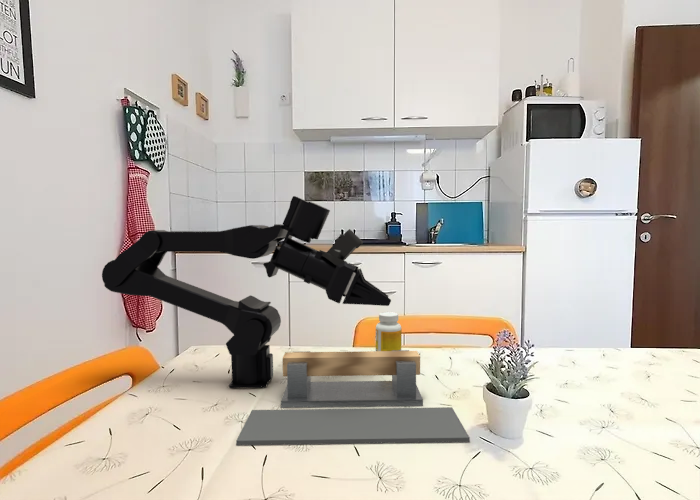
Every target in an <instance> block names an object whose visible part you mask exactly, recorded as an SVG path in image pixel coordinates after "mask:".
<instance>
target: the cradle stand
mask: <svg viewBox="0 0 700 500" xmlns="http://www.w3.org/2000/svg"><path fill="white" fill-rule="evenodd" d="M392 351H410V350H409V349H408V350H407V349H401V350H392ZM306 352H311V351H309V350H308V351H306ZM286 378H287V380H286V381H287V384H286V386H285V389H284V392H283V395H282V397H281V399H280V408H281V409H283V408H285V409H286V408H288V409H289V408H292V409H293V408H347V407H348V408H350V407H351V408H353V407H354V408H355V407H356V408H358V407H359V408H360V407H361V408H364V407H365V408H368V407H372V408H374V407H424V399H423V396H422V394H421V392H420V389H419V387H418V385H417V375H416V363H415V361H396V375H391V380H372V381H371V380H369V381H368V380H357V381H356V380H354V381H353V380H352V381H351V380H349V381H348V380H347V381H346V380H344V381H341V380H340V381H339V380H338V381H334V380H333V381H312V380H311V379H312V376H308V370H307V362H288V364H287V376H286Z"/></svg>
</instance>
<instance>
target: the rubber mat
mask: <svg viewBox="0 0 700 500" xmlns="http://www.w3.org/2000/svg"><path fill="white" fill-rule="evenodd" d="M470 442H471V437H470V436H469V434H468V432H467V431H466V429H465V427H464V425H463V424H462V422H461V421H460V418H459V417H458V415H457V413H456V412H455V410H454V409H453V407H446V406H445V407H438V406H437V407H379V408H378V407H376V408H374V407H372V408H368V407H365V408H364V407H361V408H308V409H307V408H303V409H302V408H299V409H293V408H292V409H289V408H288V409H286V408H285V409H252V410H251V411H250V412H249V415H248V417H247V419H246V421H245V422H244V425H243V427H242V429H241V431H240V432H239V435H238V437H237V439H236V442H235V443H236V444H235V445H236V446H269V445H270V446H273V445H274V446H276V445H280V446H283V445H286V446H287V445H289V446H290V445H293V446H295V445H334V444H335V445H347V444H348V445H349V444H350V445H354V444H356V445H357V444H415V443H416V444H417V443H418V444H421V443H422V444H423V443H424V444H429V443H431V444H432V443H470Z"/></svg>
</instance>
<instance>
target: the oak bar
mask: <svg viewBox="0 0 700 500" xmlns="http://www.w3.org/2000/svg"><path fill="white" fill-rule="evenodd" d="M396 361H415V363H416V376H419V375H421V355H420V353H419V352H418V350H409V351H376V350H374V351H372V350H371V351H363V350H362V351H310V352H307V351H292V352H289V351H287V352H284V354H283V356H282V377H287V364H288V362H307V370H308V376H311V377H337V376H338V377H343V376H345V377H346V376H351V377H352V376H356V377H357V376H392V375H396Z"/></svg>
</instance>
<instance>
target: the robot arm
mask: <svg viewBox="0 0 700 500" xmlns="http://www.w3.org/2000/svg"><path fill="white" fill-rule="evenodd" d="M330 212H331V210H330V209H328V208H326V207H324V206H322V205H320V204H317V203H315V202H312V201H307V200H305V199H303V198H300V197H298V196H295V195H294V196H292V198H291V199H290V203H289V208H288V210H287V213H286V215H285V217H284V219H283V222H282V224H279V223H277V224H276V223H275V224H274V225H272V226H269V225H265V224H250V225H245V226H239V227H233V228H229V229H226V230H220V231H219V230H218V231H215V230H214V231H213V230H212V231H211V230H209V231H206V230H205V231H198V230H197V231H194V230H193V231H191V230H190V231H189V230H187V231H185V230H184V231H183V230H182V231H180V230H179V231H175V230H174V231H173V230H172V231H167V230H165V229H157V230H155V229H154V230H147V231H146V232H144V234H142V235H141V236H140V238H138V240H137V241H136V242H134V243H133V244H132V245H130V246H129V247H128V248H126V249H125V250H124V251H122V252H121V253H120V254H119V255H118V256H116V258H115V259H114V260H113V259H112V260H110V261H108V262H107V263H106V264H105V265H104V267H103V269H102V272H101V277H102V282H103V286H104V287H105V289H107V290H109V292H113V293H117V294H123V295H128V296H140V297H150V298H151V297H152V298H154V299H157V300H159V301H162V302H165V303H167V304H170V305H173V306H175V307H178V308H181V309H183V310H185V311H188V312H192V313H193V314H196V315H198V316H202V317H205V318H207V319H210V320H212V321H215V322H217V323H220V324H223V326H224V327H226V329H228V330H229V332H231V333H232V335H233V336H232V337H230V338H229V340H228V341H227V342H226V343H225V345H226V348H227V351H228V353H229V355H230V356H231V358H230V359H231V362H230V363H231V381H230V383H229V385H228V388H230V389H239V388H240V389H244V388H246V389H247V388H248V389H249V388H250V389H251V388H259V389H261V388H266V387H267V386H268V384H269V383H270V381H271V380H272V378H273V376H274V354H273V353H270V352H271V351H270V345H269V344H268V343H269V342H270V341H271V338H272V336H273V335H275V334H276V333H277V332H278V331H279V328H280V326H281V323H282V320H281V318H282V317H281V315H280V312H279V310H278V309H276V307H274V306H272V305H271V303H272V302H271V301H264V300H261V299H259V298H258V297H255V296H253V295H248V296H246V297H244V298H243V299H240V300H239V301H237V300H233V299H230V298H228V297H224V296H222V295H219V294H217V293H214V292H211V291H208V290H206V289H203V288H200V287H198V286H195V285H193V284H189V283H188V282H184V281H182V280H179V279H177V278H174V277H171V276H169V275H167V274H165V273H164V272H163V271H162V270H161V269H160V267H159V266H160V265H161V263H162V261H163V259H164V257H165V255H166V254H167V253H168V252H169V253H170V252H173V253H174V252H177V253H178V252H181V253H182V252H184V253H185V252H186V253H187V252H188V253H189V252H190V253H191V252H192V253H194V252H195V253H196V252H197V253H199V252H201V253H202V252H203V253H205V252H206V253H210V252H211V253H222V254H223V253H224V254H227V255H231V256H235V257H240V258H246V259H249V260H250V259H251V260H252V259H254V260H255V259H259V258H264V257H266V256H269V255H271V254H272V256H271V258H270V260H269V261H267V262H264V263H263V267H264V268H265V270H266V275H267V277H268V278H273V277H275V276H277V273H278V272H279V270H280V271H282V272H285V273H287V274H289V275H290V276H294V277H297V279H300V280H303V282H304V283H306V284H309V285H313V286H316V287H318V288H320V289H323V290H324V291H325V294H326V296H327V298H328V300H330V301H332V302H334V303H336V304H340V303H341V302H342V305H363V306H364V305H365V306H384V307H388V306H390V304H391V302H392V299H391V298H390V297H389V295H388V294H386V293H385V292H384V291H382V290H381V289H380V288H378V287H376V286H375V285H373V284H372V283H371V282H369V281H368V280H366V279H365V276H364V273H363V271H362V268H359V266H357V265H355V264H353V263H351V262H349V263H348V261H346V259H348V257H349V256H350V255H351V254H352V253H353V252H354V251H355V250H356V249H359V248H360V247H361V246H362V244H363V243H364V241H363V240H362V239H361V238H360V237H359V236H358V235H357V234H356V233H355V232H354V231H352V229H350V228H349V229H348V230H347V231H345V233H344V234H342V233H341V234H339V236H338V237H337V238H335V239H334V241H335V243H334V244H333V245H332V246H331V247H330V248H329V249H328V250H327V251H323V250H321V249H319V250H317V249H315V248H313V247H310V246H308V245H306V244H304V243H301V242H305V243H308V244H310V243H311V241H312V240H319V238H320V235H321V233H322V231H323V228H324V226H325V224H326V221H327V219H328V217H329V214H330ZM293 237H294V238H296V239H297V240H300V241H301V242H299V241H297V240H296V239H295V240H294V239H292V238H293ZM281 241H283V242H282V243H281V245H280V246H278V243H280V242H281ZM343 297H344V299H343V301H342V298H343Z"/></svg>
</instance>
